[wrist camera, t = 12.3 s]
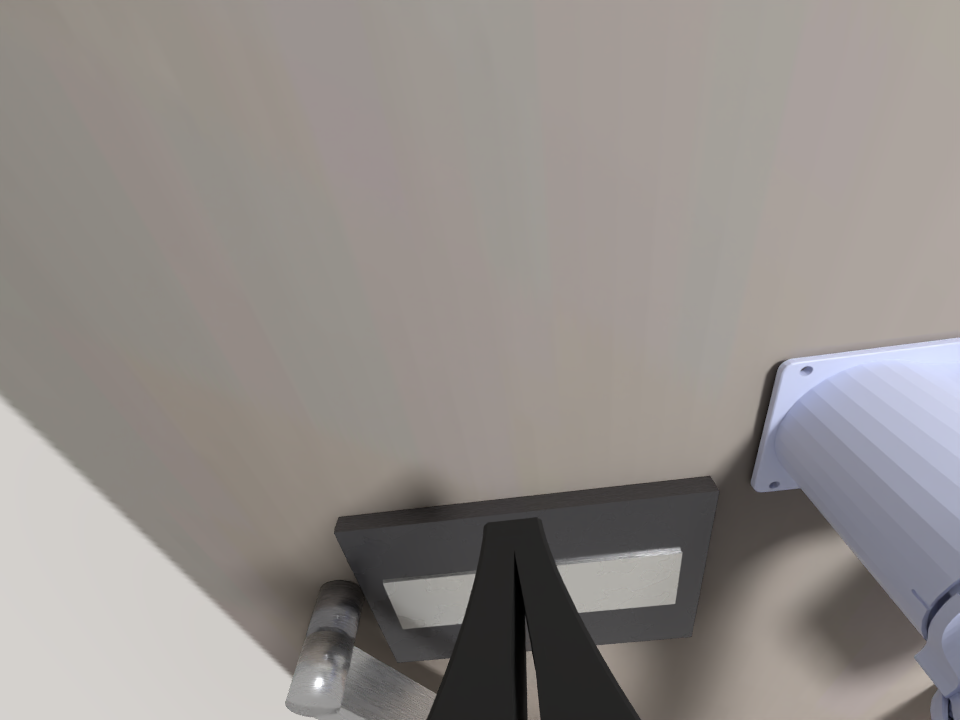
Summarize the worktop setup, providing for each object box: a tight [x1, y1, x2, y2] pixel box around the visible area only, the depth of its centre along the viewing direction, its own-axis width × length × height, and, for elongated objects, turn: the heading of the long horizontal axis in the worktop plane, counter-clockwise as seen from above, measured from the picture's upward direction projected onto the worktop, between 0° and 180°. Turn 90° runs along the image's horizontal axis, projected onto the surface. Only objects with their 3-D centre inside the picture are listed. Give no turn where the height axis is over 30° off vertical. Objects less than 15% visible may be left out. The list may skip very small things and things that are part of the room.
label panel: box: [306, 476, 719, 663], centre depth 26 cm, size 23×14×3 cm, turn 98°
